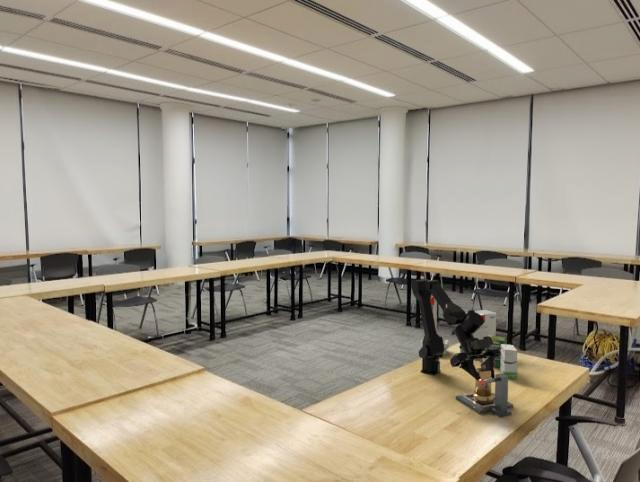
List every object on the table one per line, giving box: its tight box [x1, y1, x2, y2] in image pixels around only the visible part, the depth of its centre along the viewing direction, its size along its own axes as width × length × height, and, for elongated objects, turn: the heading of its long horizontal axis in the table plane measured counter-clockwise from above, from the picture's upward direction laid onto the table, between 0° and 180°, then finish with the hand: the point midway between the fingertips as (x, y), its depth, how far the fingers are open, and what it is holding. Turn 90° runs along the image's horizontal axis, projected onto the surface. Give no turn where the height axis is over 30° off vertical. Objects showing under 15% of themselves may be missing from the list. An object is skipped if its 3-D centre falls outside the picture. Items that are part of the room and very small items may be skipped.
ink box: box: [499, 343, 518, 380], centre depth 183 cm, size 9×5×12 cm, turn 168°
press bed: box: [455, 372, 514, 418], centre depth 155 cm, size 17×16×13 cm
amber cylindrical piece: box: [472, 363, 495, 404], centre depth 157 cm, size 7×7×12 cm
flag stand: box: [420, 296, 450, 356], centre depth 213 cm, size 13×13×30 cm
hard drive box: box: [459, 309, 497, 353], centre depth 209 cm, size 16×8×20 cm, turn 117°
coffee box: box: [486, 335, 507, 368], centre depth 194 cm, size 8×3×13 cm, turn 59°
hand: (486, 379), depth 155 cm, fingers open, 6 cm apart
